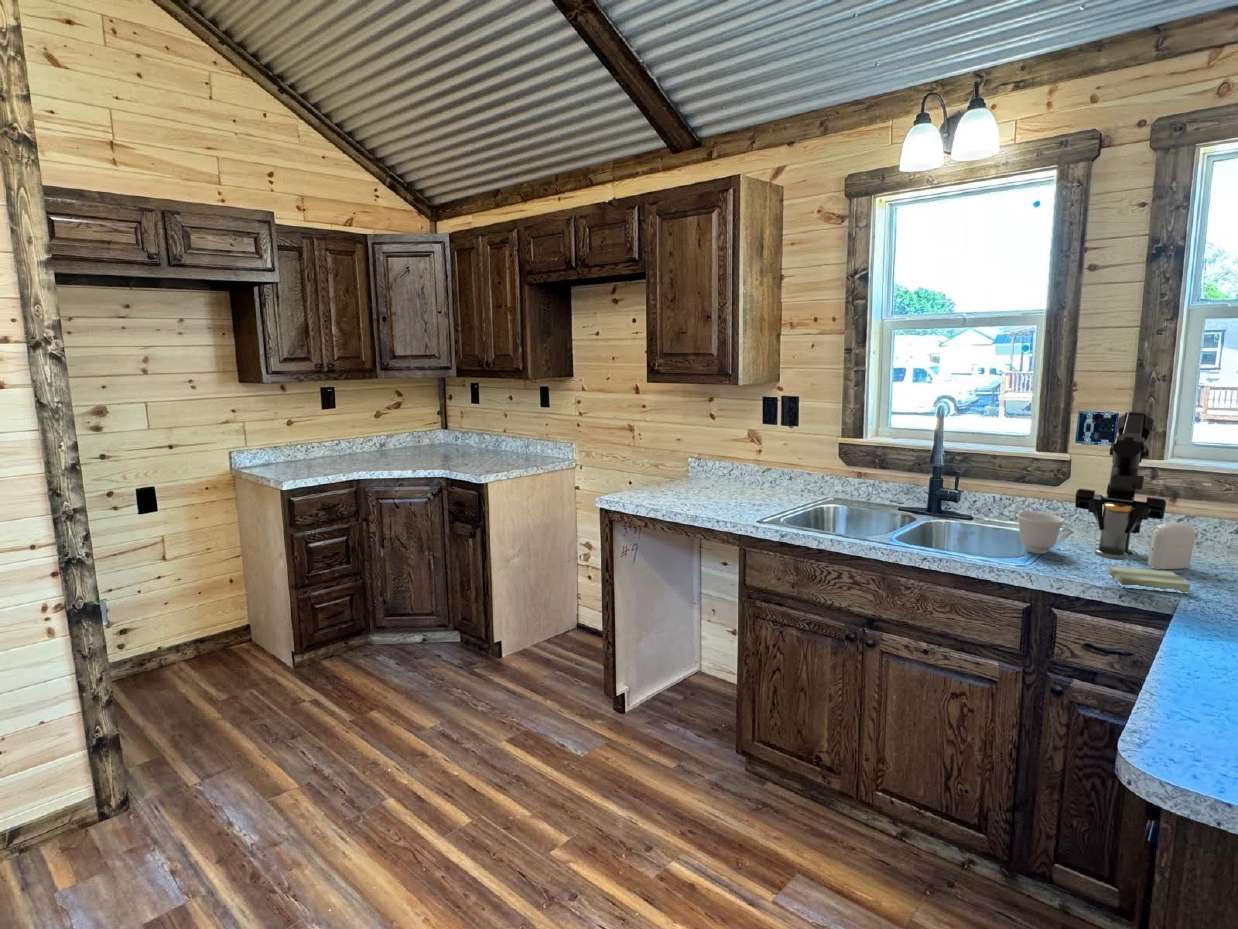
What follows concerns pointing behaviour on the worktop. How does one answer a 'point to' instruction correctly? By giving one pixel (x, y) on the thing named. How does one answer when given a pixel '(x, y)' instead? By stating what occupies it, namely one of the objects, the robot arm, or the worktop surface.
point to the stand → (1148, 578)
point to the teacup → (1038, 530)
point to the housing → (1114, 531)
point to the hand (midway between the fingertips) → (1114, 531)
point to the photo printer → (1171, 546)
